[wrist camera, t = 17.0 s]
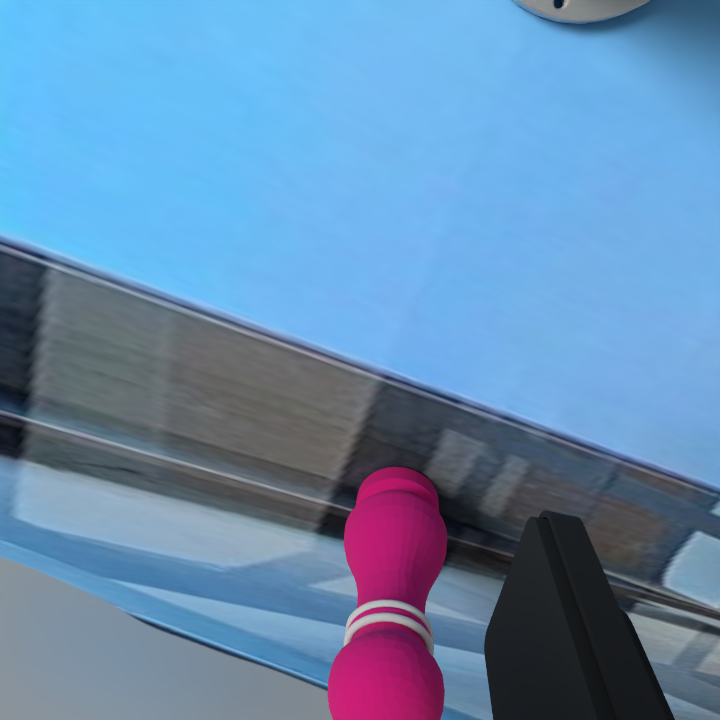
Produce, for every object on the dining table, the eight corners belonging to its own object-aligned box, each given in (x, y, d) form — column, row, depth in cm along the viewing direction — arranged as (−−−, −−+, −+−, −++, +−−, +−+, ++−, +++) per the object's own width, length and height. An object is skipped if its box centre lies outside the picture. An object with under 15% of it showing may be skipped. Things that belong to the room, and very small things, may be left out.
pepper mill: (461, 517, 44) (489, 806, 25) (380, 548, 46) (352, 837, 27) (417, 445, 41) (413, 704, 23) (334, 482, 43) (270, 746, 25)
